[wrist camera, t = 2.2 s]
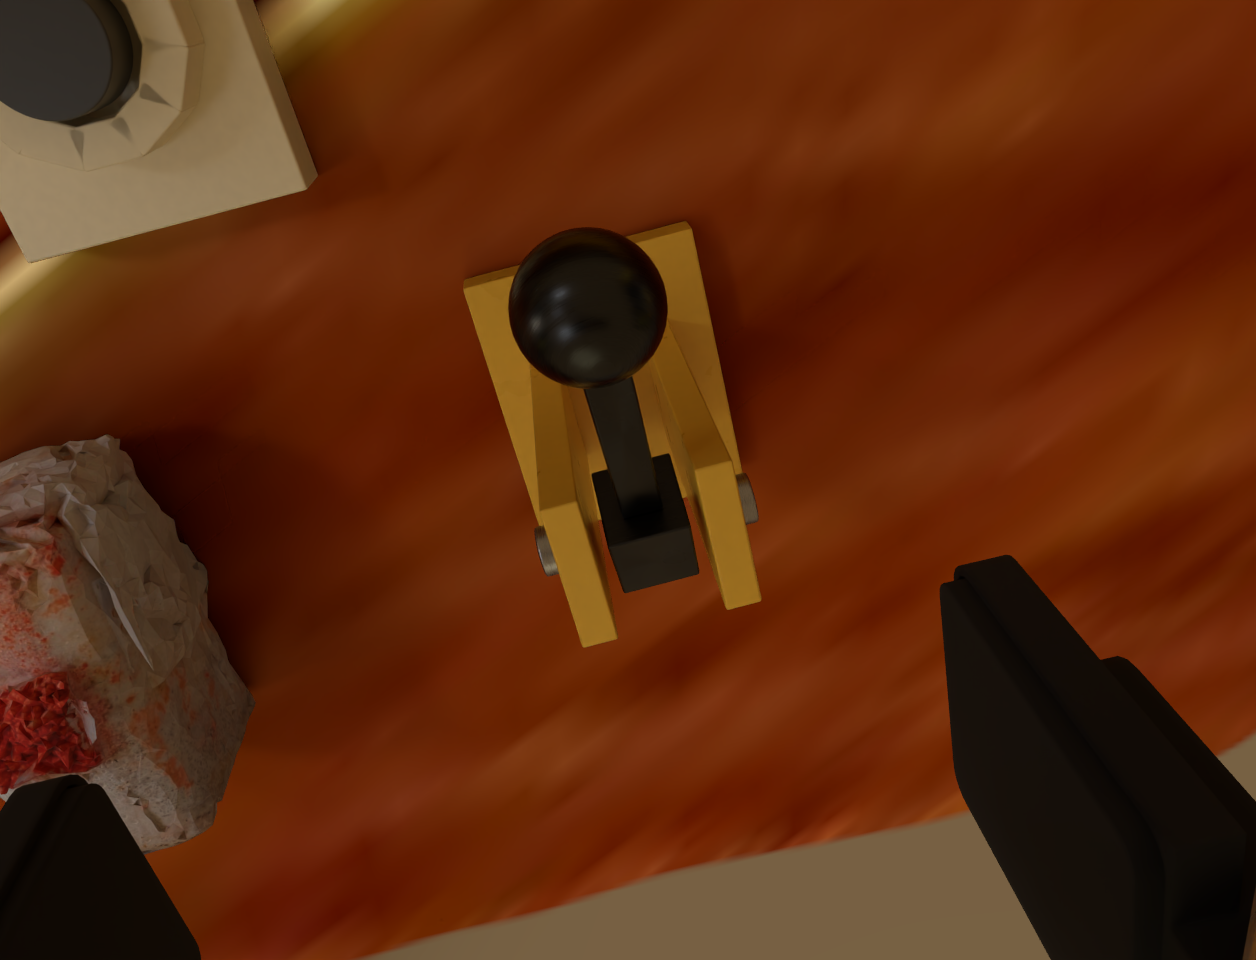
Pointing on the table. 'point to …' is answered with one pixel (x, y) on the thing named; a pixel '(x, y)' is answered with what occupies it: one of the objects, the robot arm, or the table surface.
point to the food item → (110, 645)
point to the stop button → (62, 57)
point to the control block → (159, 135)
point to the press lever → (608, 385)
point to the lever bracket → (674, 423)
